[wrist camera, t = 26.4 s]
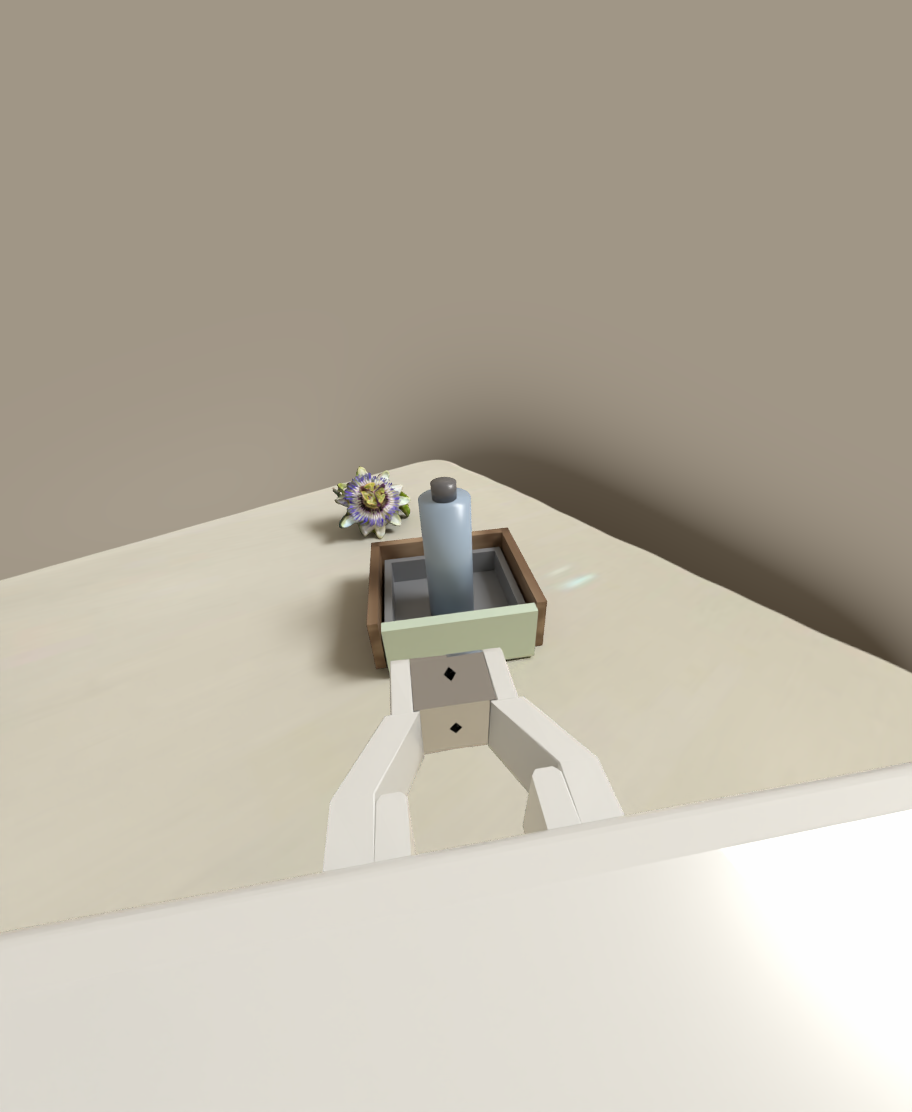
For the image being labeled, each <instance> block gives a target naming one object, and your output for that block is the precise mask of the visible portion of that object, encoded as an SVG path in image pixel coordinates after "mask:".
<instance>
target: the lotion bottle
mask: <svg viewBox="0 0 912 1112" xmlns="http://www.w3.org/2000/svg"><path fill="white" fill-rule="evenodd" d="M430 485H431V490H428V491H426V492H424V493H422V494H421V495H420V496H419V498H418V503H419V512H420V521H421V530H422V539H423V548H424V557H425V566H426V575H427V584H428V593H429V602H430V611H431V615H432V616H437V615H445V614H452V613H460V612H467V611H474V593H473V561H472V528H471V496H470V494H469V493H468V492H467V491H465V490H463V489H460V488H456V480H455V479H453V478H450V477H440V478H436V479H433V480H432V481H431V482H430Z"/></svg>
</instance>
